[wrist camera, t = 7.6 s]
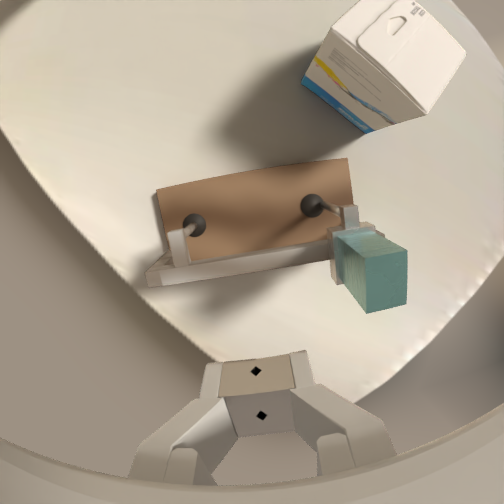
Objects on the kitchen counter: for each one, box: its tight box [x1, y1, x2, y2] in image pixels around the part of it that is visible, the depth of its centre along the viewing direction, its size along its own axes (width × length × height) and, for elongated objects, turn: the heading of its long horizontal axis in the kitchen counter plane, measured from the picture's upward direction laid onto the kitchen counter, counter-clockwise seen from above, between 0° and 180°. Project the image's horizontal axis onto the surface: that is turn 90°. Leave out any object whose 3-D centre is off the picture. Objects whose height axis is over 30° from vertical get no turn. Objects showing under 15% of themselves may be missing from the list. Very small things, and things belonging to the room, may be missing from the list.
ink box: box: [301, 0, 466, 134], centre depth 18 cm, size 9×8×12 cm
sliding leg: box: [320, 201, 407, 314], centre depth 20 cm, size 5×3×13 cm, turn 10°
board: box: [145, 158, 385, 288], centre depth 24 cm, size 8×18×8 cm, turn 100°
